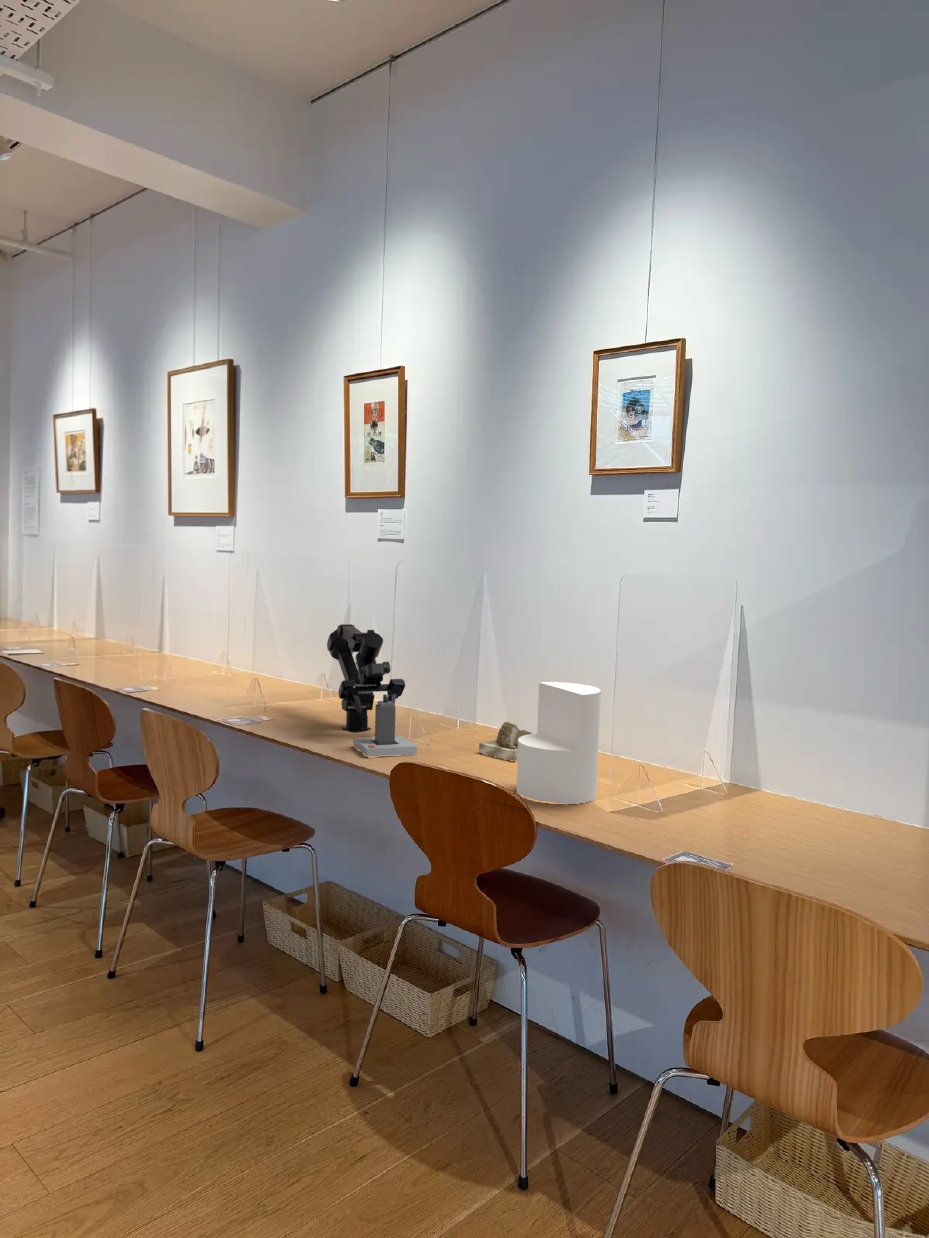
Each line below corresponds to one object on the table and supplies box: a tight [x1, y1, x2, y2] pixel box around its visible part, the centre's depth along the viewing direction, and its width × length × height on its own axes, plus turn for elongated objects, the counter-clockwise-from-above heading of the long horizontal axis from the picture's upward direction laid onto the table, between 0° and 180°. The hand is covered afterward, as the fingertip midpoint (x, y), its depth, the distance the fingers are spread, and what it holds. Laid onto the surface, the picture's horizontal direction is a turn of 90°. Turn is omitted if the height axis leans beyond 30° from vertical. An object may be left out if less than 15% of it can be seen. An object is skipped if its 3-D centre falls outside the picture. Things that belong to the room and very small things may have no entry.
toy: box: [496, 721, 534, 749], centre depth 254 cm, size 7×7×15 cm
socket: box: [352, 735, 418, 756], centre depth 251 cm, size 14×14×3 cm
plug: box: [374, 694, 396, 745], centre depth 250 cm, size 4×4×15 cm
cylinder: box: [516, 681, 602, 805], centre depth 212 cm, size 19×19×25 cm
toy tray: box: [478, 739, 518, 761], centre depth 254 cm, size 13×21×3 cm, turn 136°
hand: (377, 712), depth 258 cm, fingers open, 9 cm apart
